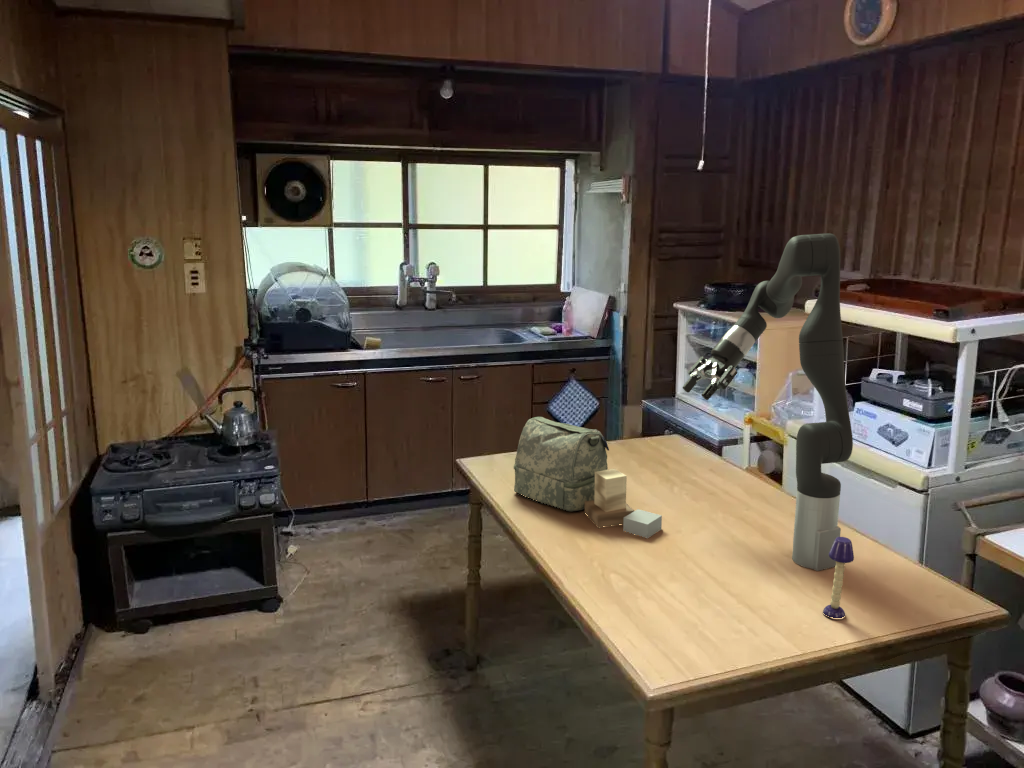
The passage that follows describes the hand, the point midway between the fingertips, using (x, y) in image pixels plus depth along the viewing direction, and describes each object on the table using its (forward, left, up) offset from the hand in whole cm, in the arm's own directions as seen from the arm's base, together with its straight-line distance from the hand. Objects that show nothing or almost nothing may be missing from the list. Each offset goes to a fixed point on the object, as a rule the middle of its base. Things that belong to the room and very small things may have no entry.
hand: (694, 394), depth 207 cm
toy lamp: (-57, +4, -33) cm, 66 cm away
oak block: (+5, +22, -29) cm, 37 cm away
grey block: (-5, +18, -33) cm, 38 cm away
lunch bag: (+24, +27, -33) cm, 49 cm away
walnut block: (+5, +22, -33) cm, 40 cm away
